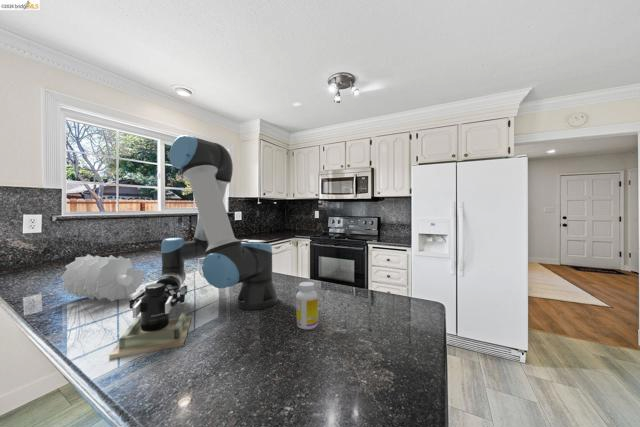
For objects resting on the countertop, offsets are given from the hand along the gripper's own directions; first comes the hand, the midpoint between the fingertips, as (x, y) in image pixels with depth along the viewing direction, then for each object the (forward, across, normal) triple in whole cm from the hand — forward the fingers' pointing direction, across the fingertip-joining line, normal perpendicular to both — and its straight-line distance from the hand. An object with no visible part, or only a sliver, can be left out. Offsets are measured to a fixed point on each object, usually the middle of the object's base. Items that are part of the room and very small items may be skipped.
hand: (150, 310), depth 68 cm
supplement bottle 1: (-5, 0, -7) cm, 8 cm away
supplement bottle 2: (+5, -42, -9) cm, 44 cm away
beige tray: (-5, 0, -9) cm, 10 cm away
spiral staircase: (-50, +28, -10) cm, 58 cm away
